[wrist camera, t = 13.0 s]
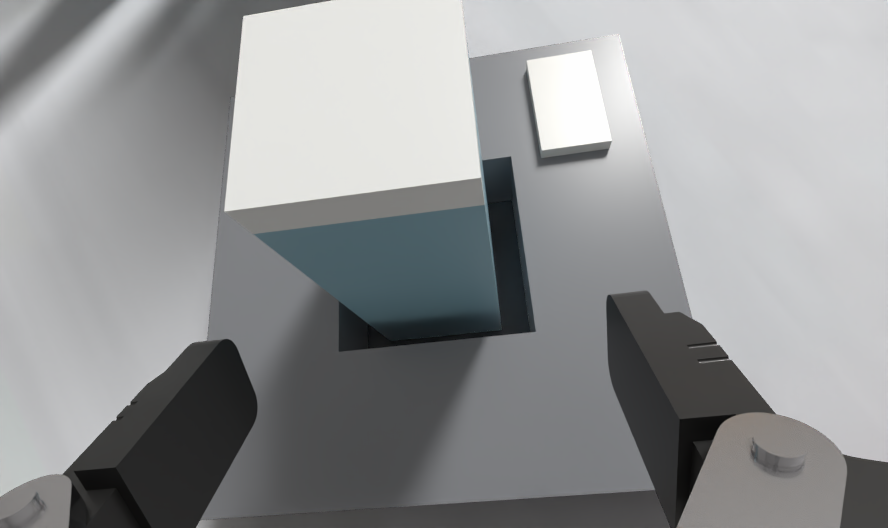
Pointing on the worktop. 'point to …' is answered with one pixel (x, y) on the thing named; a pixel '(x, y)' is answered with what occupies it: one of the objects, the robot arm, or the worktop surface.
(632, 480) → the socket
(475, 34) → the worktop surface
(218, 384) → the robot arm
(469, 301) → the white-topped blue pillar
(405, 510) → the worktop surface
